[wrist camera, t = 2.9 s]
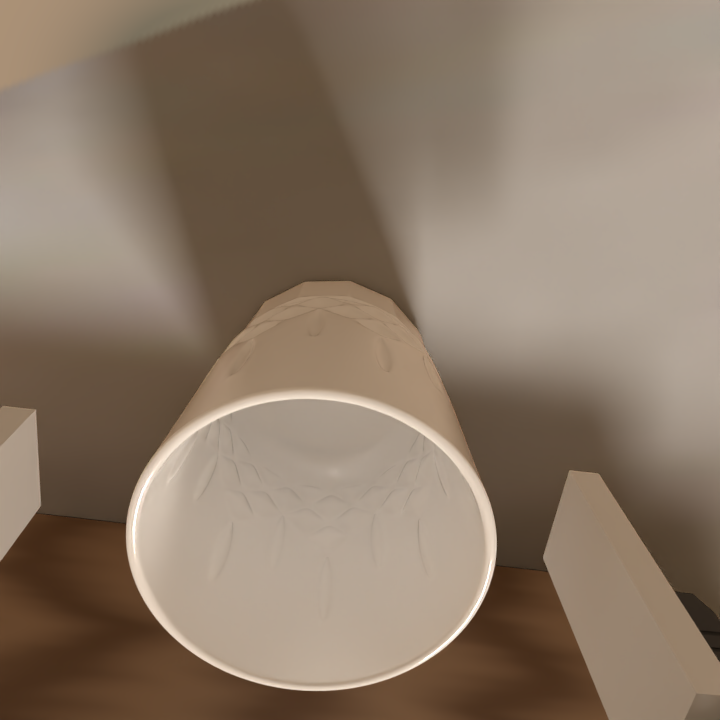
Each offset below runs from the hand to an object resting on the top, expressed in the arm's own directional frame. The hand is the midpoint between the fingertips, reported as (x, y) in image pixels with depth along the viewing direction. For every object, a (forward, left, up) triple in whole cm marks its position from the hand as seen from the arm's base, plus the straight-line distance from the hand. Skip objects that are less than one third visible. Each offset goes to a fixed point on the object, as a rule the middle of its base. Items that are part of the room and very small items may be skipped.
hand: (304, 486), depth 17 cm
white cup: (0, 0, -8) cm, 8 cm away
